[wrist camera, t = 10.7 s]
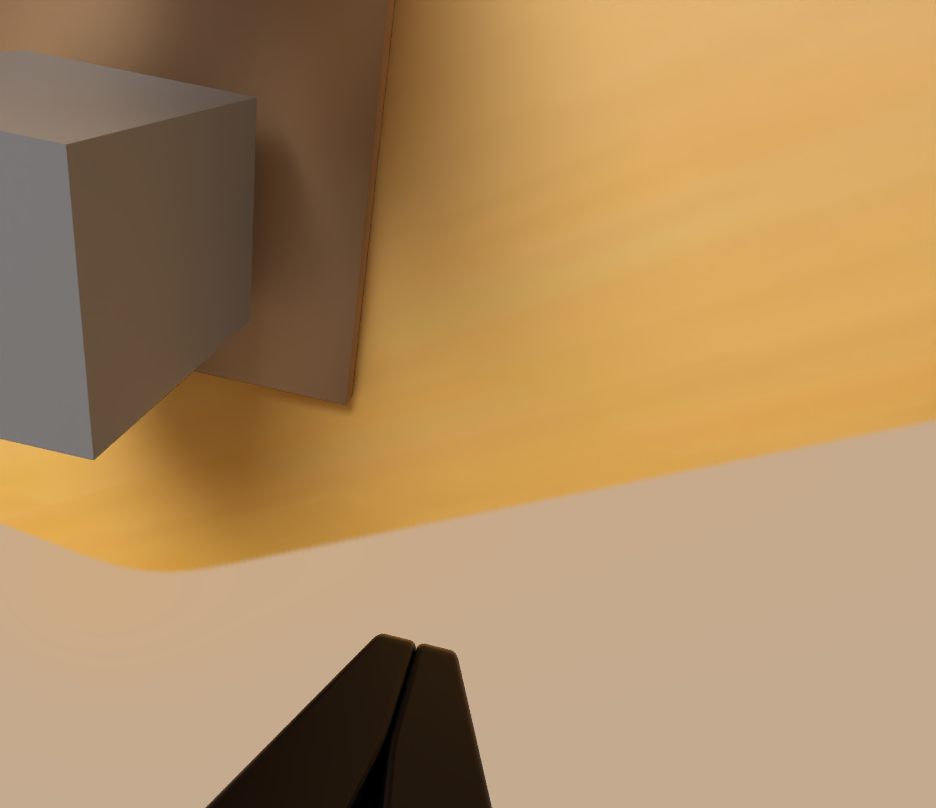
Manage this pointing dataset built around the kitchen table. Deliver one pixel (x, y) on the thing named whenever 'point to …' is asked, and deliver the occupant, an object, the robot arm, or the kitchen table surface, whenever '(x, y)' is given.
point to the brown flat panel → (265, 151)
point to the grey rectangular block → (115, 243)
